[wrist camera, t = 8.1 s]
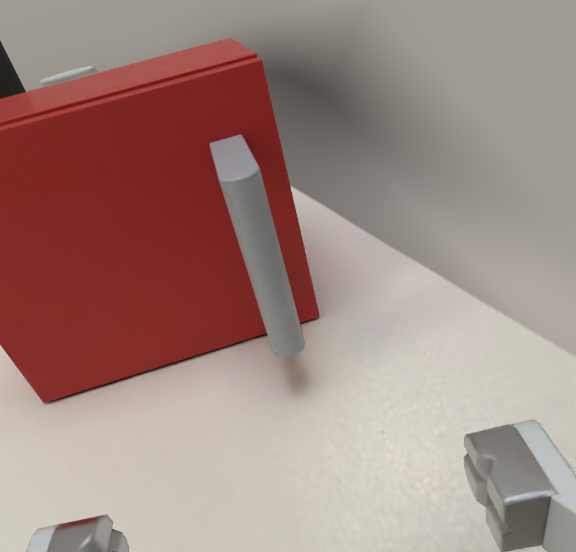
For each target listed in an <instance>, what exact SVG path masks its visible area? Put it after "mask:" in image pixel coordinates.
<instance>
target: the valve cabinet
mask: <svg viewBox="0 0 576 552" xmlns="http://www.w3.org/2000/svg"><path fill="white" fill-rule="evenodd" d="M256 57H257V54H256V53H255V52H253V51H252V50H250V49H248V48H246V47H245V46H243V45H241V44H240V43H238V42H236V41H234V40H233V39H231V38H228V39H224V40H221V41H217V42H213V43H209V44H206V45H202V46H198V47H194V48H190V49H186V50H183V51H179V52H175V53H171V54H168V55H164V56H160V57H156V58H153V59H149V60H145V61H141V62H138V63H134V64H130V65H126V66H123V67H119V68H115V69H111V70H108V71H104V72H100V73H96V74H92V75H88V76H85V77H81V78H77V79H73V80H70V81H66V82H62V83H58V84H54V85H51V86H47V87H43V88H40V89H36V90H32V91H28V92H24V93H21V94H17V95H13V96H9V97H5V98H2V99H0V126H3V125H7V124H11V123H14V122H18V121H22V120H26V119H29V118H33V117H37V116H40V115H44V114H48V113H52V112H55V111H59V110H63V109H66V108H70V107H74V106H78V105H81V104H85V103H89V102H92V101H96V100H100V99H104V98H107V97H111V96H115V95H118V94H122V93H126V92H130V91H133V90H137V89H141V88H144V87H148V86H152V85H156V84H159V83H163V82H167V81H170V80H174V79H178V78H182V77H185V76H189V75H193V74H196V73H200V72H204V71H208V70H211V69H215V68H219V67H222V66H226V65H230V64H234V63H237V62H241V61H245V60H248V59H252V58H256Z"/></svg>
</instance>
